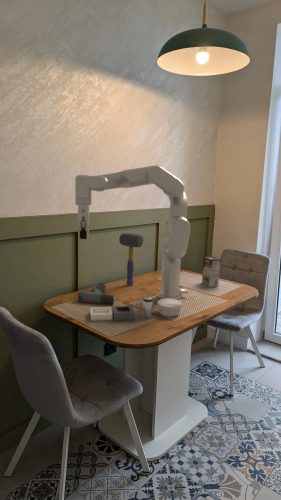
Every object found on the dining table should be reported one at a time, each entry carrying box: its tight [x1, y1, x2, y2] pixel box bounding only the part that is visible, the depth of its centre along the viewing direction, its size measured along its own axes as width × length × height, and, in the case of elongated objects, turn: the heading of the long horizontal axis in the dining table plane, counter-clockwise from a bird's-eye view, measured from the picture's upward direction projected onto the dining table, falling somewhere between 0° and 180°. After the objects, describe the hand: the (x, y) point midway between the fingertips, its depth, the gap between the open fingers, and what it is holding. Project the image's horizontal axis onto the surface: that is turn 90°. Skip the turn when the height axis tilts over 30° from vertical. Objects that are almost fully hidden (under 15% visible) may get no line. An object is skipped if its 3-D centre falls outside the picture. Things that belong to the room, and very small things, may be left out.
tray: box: [89, 306, 113, 322], centre depth 156 cm, size 9×9×3 cm
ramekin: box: [156, 298, 183, 317], centre depth 163 cm, size 11×11×5 cm
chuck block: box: [111, 305, 136, 322], centre depth 157 cm, size 9×9×3 cm
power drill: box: [77, 282, 117, 305], centre depth 180 cm, size 5×19×20 cm
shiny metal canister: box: [142, 295, 154, 320], centre depth 156 cm, size 4×4×9 cm
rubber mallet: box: [119, 232, 144, 287], centre depth 201 cm, size 12×8×30 cm, turn 58°
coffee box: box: [201, 256, 221, 288], centre depth 211 cm, size 9×6×16 cm
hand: (83, 237), depth 173 cm, fingers open, 9 cm apart
